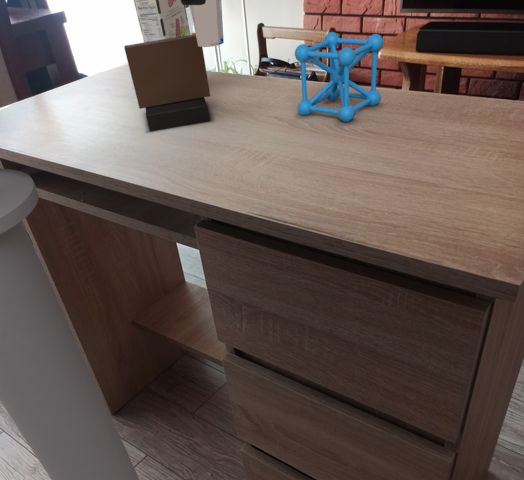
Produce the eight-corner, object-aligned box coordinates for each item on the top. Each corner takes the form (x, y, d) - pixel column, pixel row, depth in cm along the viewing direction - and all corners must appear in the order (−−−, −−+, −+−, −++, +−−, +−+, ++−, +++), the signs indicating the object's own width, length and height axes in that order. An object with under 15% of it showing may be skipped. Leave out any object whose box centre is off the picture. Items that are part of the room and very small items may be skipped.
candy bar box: (177, 78, 108) (158, -17, 97) (199, 77, 107) (182, -20, 96) (154, 95, 100) (131, -6, 89) (177, 95, 99) (157, -8, 88)
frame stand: (149, 131, 85) (145, 115, 83) (148, 113, 92) (144, 98, 91) (209, 121, 86) (207, 105, 84) (203, 103, 93) (201, 88, 91)
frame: (139, 108, 86) (123, 46, 80) (139, 105, 87) (123, 43, 81) (210, 96, 87) (200, 33, 81) (209, 93, 88) (199, 31, 82)
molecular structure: (383, 104, 83) (386, 32, 76) (348, 125, 78) (349, 50, 71) (330, 97, 88) (329, 29, 82) (295, 116, 83) (291, 45, 76)
